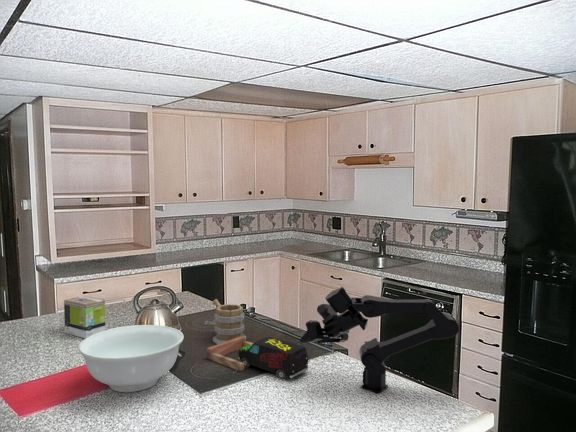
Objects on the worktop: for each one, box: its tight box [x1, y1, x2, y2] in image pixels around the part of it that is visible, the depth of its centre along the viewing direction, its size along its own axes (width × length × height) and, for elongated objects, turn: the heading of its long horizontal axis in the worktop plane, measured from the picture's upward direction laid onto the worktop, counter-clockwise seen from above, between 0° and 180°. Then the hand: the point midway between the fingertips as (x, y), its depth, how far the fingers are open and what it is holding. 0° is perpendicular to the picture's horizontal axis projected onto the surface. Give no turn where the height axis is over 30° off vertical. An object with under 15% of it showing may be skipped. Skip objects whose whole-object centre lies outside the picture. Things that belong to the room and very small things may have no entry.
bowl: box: [78, 324, 184, 393], centre depth 156 cm, size 32×32×15 cm
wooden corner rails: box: [206, 336, 254, 372], centre depth 178 cm, size 18×18×4 cm
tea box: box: [63, 295, 106, 339], centre depth 204 cm, size 15×10×15 cm, turn 58°
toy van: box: [237, 336, 310, 380], centre depth 168 cm, size 11×25×10 cm, turn 52°
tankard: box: [212, 298, 247, 345], centre depth 199 cm, size 20×13×15 cm, turn 34°
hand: (309, 341), depth 161 cm, fingers open, 9 cm apart
